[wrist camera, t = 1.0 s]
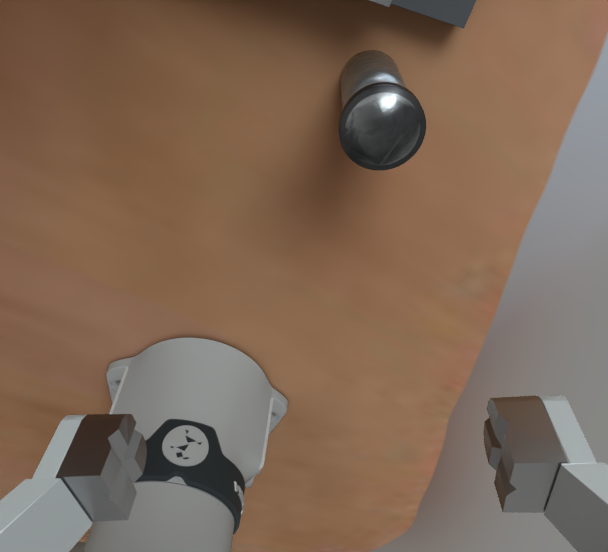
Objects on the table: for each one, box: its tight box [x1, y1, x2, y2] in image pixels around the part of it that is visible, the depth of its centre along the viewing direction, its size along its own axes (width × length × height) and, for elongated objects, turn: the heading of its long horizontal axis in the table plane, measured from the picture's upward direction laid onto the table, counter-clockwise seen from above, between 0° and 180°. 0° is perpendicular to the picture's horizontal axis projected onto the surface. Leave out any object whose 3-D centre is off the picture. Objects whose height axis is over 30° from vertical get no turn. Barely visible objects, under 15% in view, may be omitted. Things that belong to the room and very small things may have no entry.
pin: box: [339, 50, 426, 170], centre depth 31 cm, size 5×5×9 cm
